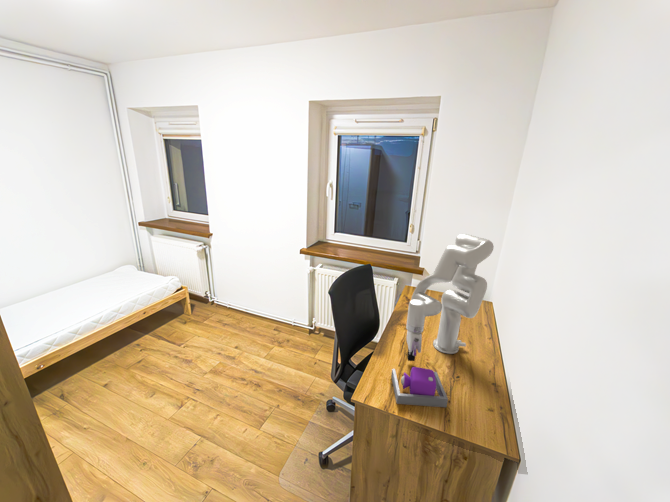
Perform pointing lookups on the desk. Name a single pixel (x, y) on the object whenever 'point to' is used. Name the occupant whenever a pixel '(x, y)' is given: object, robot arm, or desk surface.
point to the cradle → (420, 399)
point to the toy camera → (420, 381)
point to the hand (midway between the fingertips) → (410, 359)
